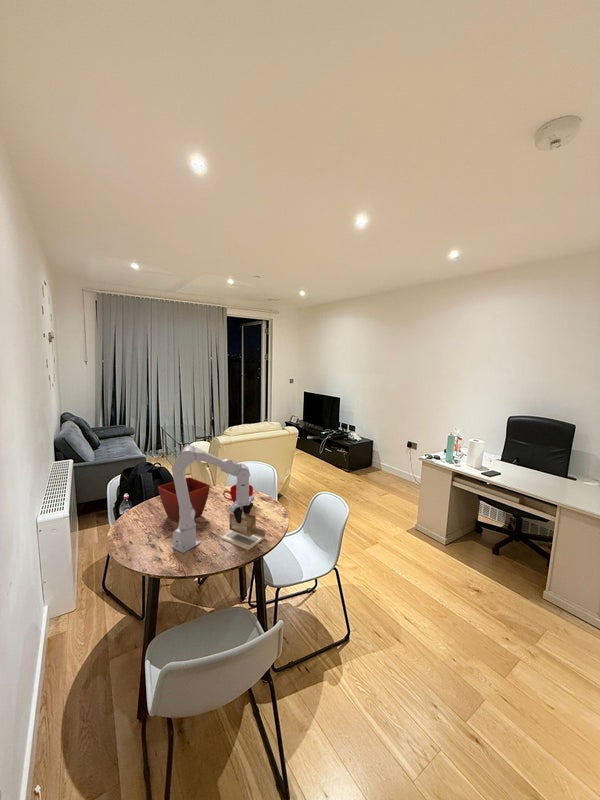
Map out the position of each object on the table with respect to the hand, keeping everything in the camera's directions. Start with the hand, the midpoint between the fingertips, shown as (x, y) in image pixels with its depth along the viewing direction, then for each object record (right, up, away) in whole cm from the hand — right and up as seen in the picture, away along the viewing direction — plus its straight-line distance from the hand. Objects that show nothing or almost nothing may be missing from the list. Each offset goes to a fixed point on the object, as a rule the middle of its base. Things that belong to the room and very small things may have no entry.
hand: (242, 520), depth 148 cm
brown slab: (0, -5, +1) cm, 5 cm away
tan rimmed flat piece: (0, -9, +2) cm, 9 cm away
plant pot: (-34, -6, +22) cm, 41 cm away
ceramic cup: (-9, -5, +38) cm, 39 cm away
